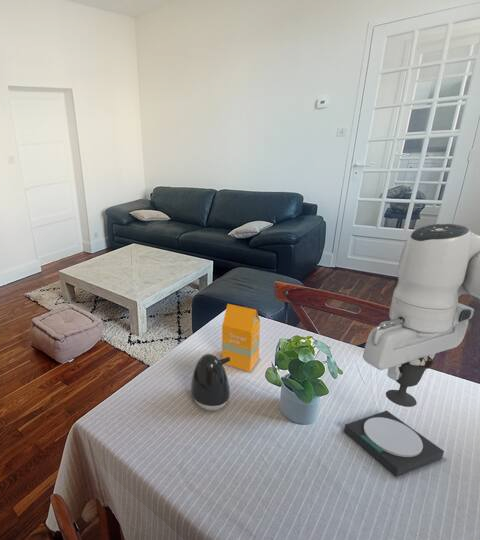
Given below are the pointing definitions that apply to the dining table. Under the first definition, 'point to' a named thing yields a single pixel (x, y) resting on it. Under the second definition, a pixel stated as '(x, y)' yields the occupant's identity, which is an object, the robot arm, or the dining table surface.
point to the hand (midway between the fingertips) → (406, 373)
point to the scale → (393, 443)
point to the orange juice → (241, 336)
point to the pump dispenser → (210, 383)
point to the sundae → (409, 381)
